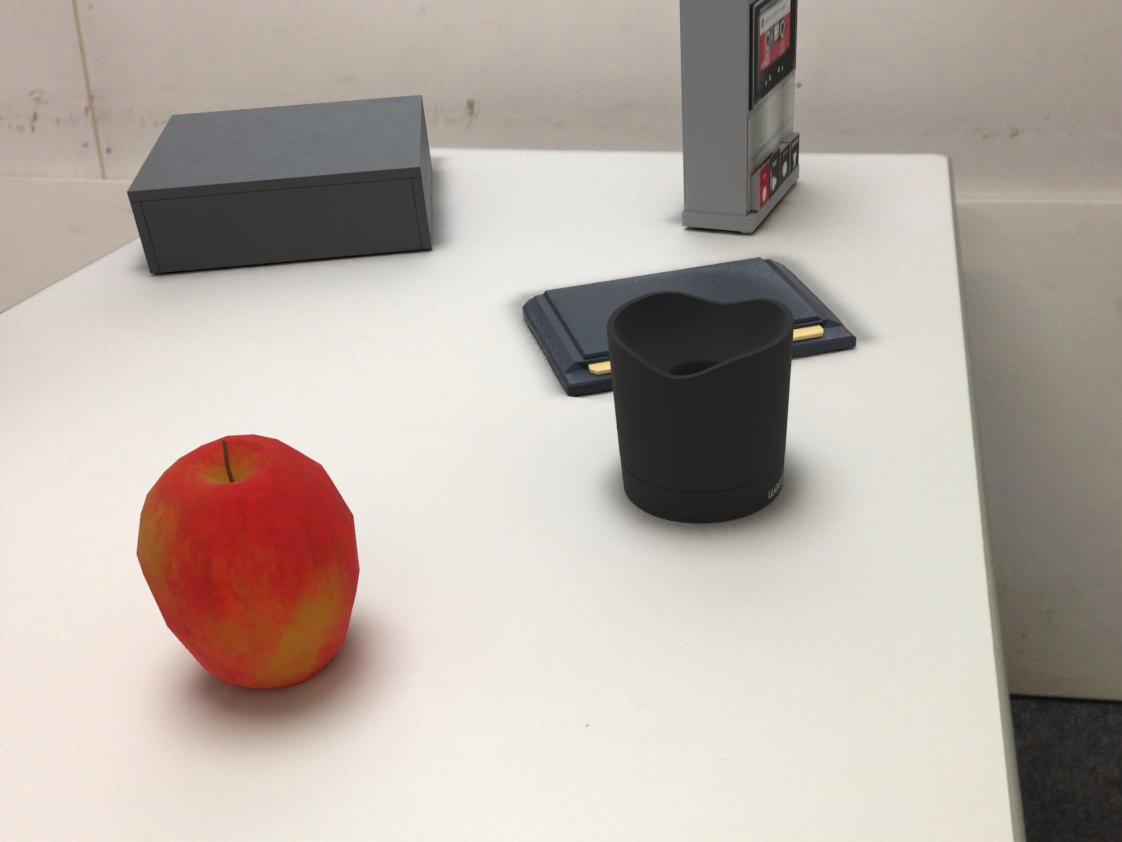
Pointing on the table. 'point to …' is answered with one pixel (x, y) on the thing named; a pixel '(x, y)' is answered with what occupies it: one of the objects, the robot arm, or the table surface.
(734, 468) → the pen holder
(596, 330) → the wallet
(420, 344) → the table surface
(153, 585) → the apple
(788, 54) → the cassette tape recorder
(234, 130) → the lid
